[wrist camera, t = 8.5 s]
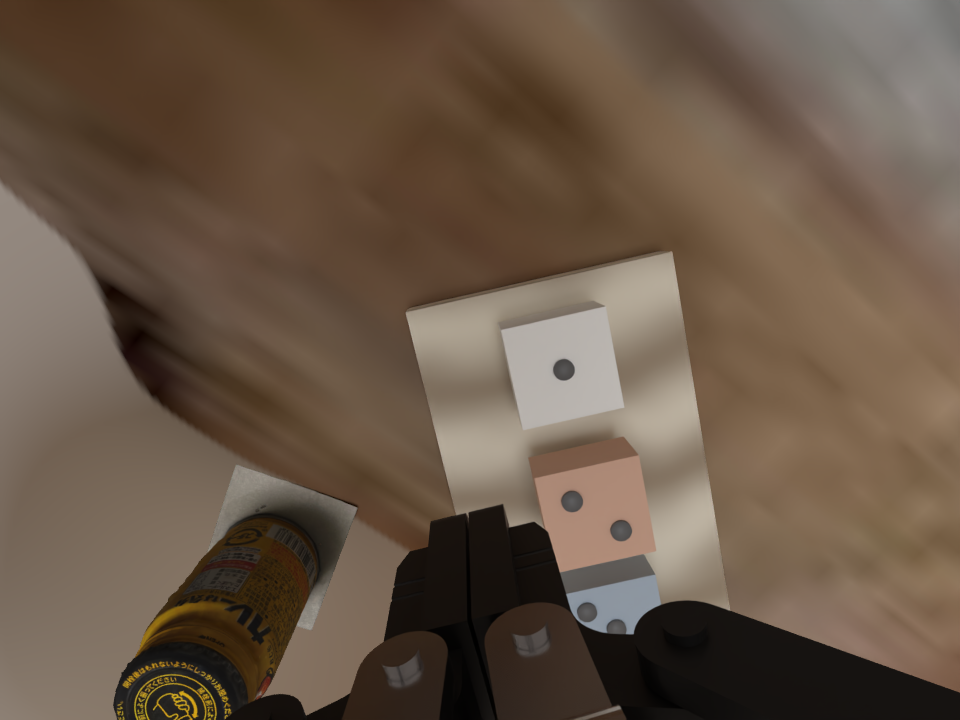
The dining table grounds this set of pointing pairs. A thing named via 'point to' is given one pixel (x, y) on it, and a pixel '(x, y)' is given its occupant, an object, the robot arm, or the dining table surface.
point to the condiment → (238, 603)
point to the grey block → (612, 594)
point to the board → (643, 421)
